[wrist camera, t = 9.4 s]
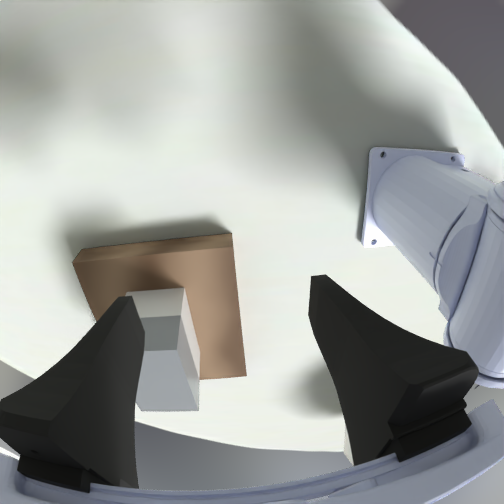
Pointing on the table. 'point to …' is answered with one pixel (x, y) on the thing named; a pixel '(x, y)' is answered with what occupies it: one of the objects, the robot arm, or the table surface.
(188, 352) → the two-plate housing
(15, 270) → the table surface
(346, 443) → the geodesic sphere
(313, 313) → the robot arm
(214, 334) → the walnut stand
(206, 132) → the table surface
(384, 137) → the table surface
